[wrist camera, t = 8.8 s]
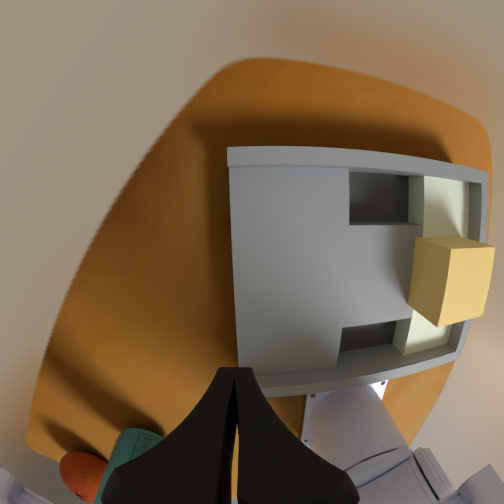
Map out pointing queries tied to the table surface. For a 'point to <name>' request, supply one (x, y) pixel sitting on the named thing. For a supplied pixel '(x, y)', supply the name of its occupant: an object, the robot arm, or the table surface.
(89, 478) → the fruit
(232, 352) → the table surface
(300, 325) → the box
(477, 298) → the block
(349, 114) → the table surface
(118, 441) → the beverage bottle
